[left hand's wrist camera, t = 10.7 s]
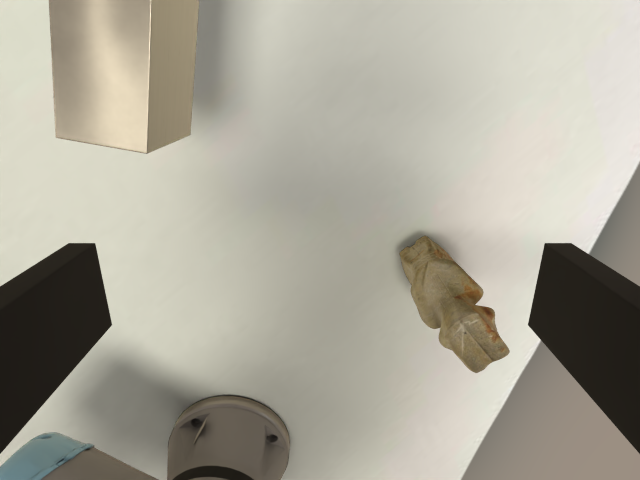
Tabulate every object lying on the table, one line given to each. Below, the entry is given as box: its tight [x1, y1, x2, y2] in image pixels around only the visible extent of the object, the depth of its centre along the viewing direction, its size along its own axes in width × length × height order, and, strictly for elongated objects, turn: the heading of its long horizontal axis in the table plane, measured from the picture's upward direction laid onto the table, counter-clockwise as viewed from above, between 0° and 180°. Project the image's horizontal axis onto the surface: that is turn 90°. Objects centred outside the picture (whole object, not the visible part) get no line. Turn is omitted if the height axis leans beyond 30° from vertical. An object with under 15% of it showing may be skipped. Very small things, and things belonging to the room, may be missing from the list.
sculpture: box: [400, 236, 509, 373], centre depth 38 cm, size 6×7×15 cm
